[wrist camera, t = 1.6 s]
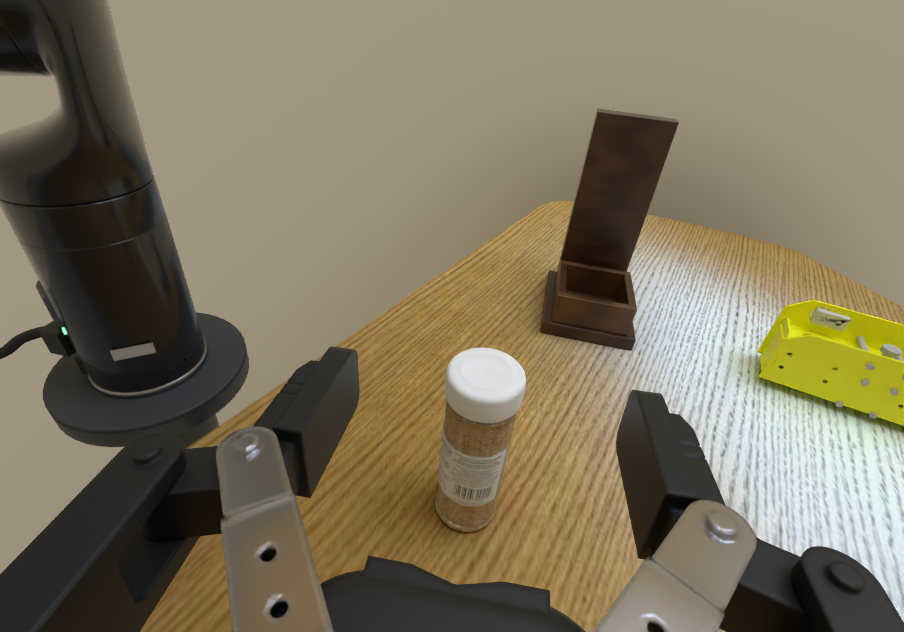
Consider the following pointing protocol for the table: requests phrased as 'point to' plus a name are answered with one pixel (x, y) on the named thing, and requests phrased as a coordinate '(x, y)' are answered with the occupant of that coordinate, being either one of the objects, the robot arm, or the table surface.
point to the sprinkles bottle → (476, 435)
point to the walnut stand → (607, 230)
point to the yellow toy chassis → (838, 358)
